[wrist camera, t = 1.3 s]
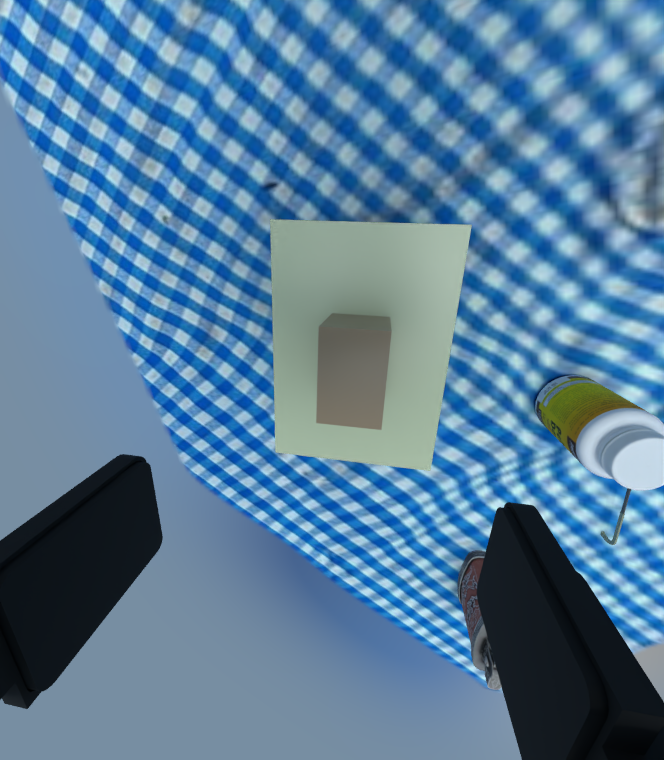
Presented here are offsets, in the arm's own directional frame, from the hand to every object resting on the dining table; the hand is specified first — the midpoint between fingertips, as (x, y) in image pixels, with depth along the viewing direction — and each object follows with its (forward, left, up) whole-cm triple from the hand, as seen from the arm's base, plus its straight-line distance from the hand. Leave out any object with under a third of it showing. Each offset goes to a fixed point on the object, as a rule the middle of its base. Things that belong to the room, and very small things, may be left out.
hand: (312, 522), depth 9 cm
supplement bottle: (+5, +19, -24) cm, 31 cm away
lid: (0, 0, -18) cm, 18 cm away
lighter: (+28, +15, -24) cm, 40 cm away
